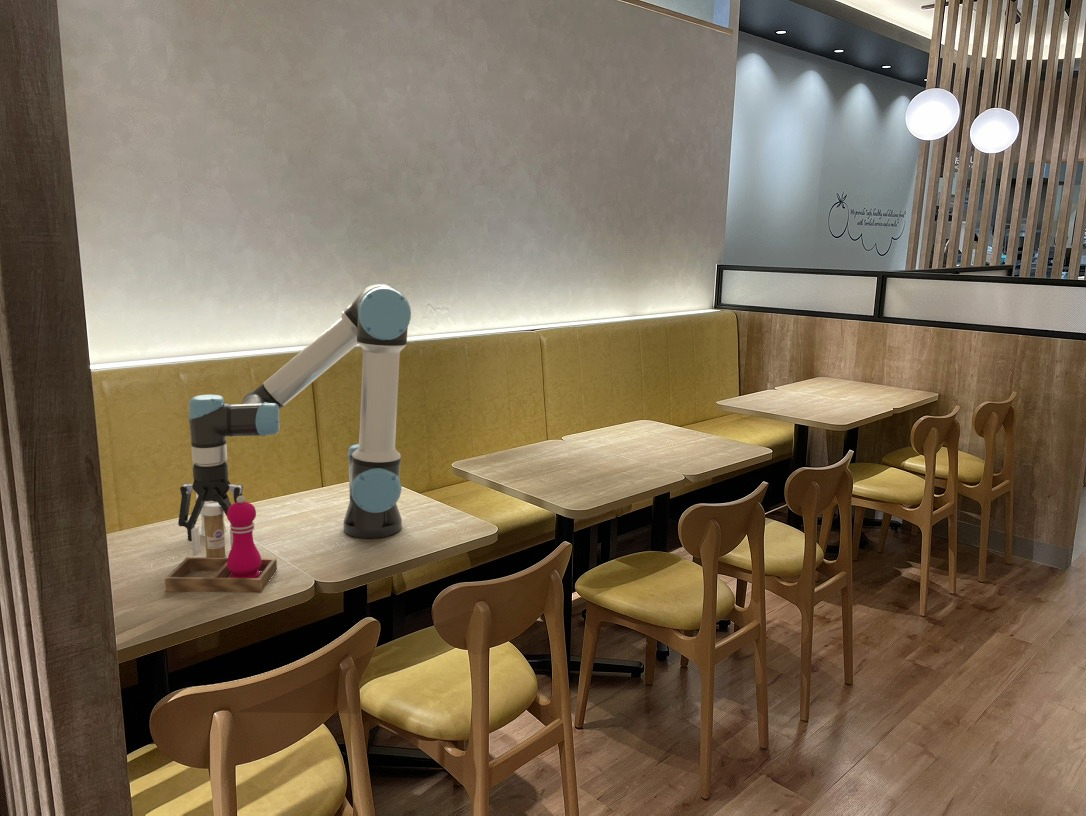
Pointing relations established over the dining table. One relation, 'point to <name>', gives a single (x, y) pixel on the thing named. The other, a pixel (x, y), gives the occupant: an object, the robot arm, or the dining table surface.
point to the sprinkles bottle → (214, 531)
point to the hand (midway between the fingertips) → (215, 553)
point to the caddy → (217, 577)
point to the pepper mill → (243, 541)
